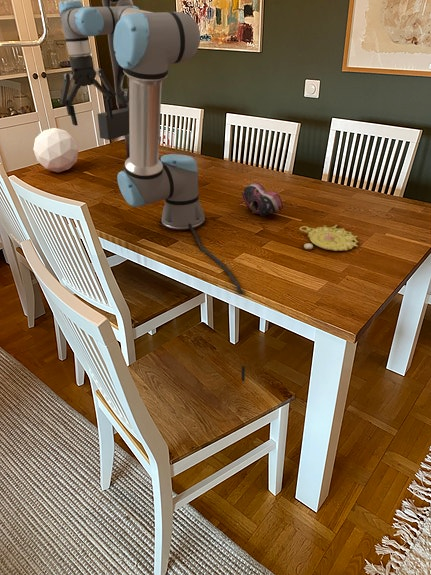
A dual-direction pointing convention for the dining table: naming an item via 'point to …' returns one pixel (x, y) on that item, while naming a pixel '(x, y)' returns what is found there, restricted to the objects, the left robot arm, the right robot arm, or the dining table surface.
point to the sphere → (55, 150)
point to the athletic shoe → (261, 200)
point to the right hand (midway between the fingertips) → (93, 121)
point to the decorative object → (330, 238)
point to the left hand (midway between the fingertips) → (139, 118)
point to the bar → (114, 124)
